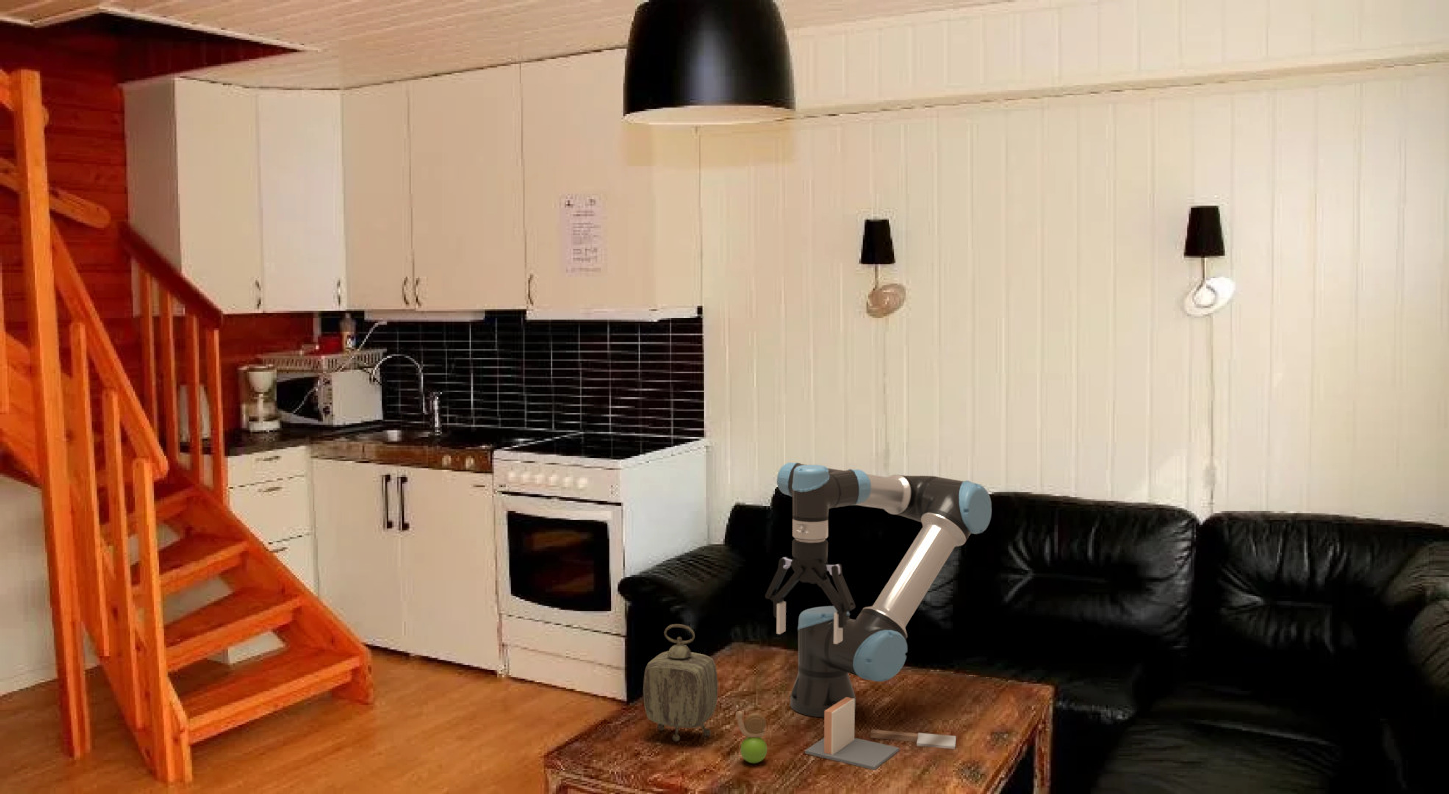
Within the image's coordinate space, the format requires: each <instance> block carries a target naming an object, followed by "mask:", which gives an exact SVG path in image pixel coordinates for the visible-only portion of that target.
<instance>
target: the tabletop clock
mask: <svg viewBox="0 0 1449 794" xmlns="http://www.w3.org/2000/svg"><path fill="white" fill-rule="evenodd" d="M672 628H681V629H685V630H687V631H689V633H691V635H692V638H690V639H688V640H683V637H681V636H677V638H676V639H673V638H671V637H669V636H668V634H667V632H668V631H669V630H670V629H672ZM663 633H664V634H663V635H664V637H665V638H666V639H667V640H668V641H669V642H671V643H673V644H674V645H672V646H671V647H670V648H669V650H667V651H662V652H661V653H659V654H658V655H656V656H655V657H654V658H652V659H651V660H650V661H649V662H648V663H647V665H646V667H645V669H644V674H643V675H644V676H643V687H642V694H643V705H644V711H645V714H646V717H647V719H648V720H650V721H651V722H653V723H655V724H657V728H658V729H657V730H659V731H663V730H665V726H667V727H673V728H674V730H675V733H674V734H673V735H672V741H674V742H675V743H676V742H679V741H680V739H681V736H680V734H679V730H680V729H679V728H684V729H686V728H687V729H693V728H698V727H700V728H701V729H702V730H703V731H702V734H703V735H704V736H705V737H709V736H710V735H711V730H710V729H709V728H706V726H705V725H704V724H705V723H706V722H707V721H708V720H709V718H711V717H712V715H714V712H715V710H716V707H717V702H718V690H719V689H718V688H719V685H718V684H719V683H718V672H717V666H716V663H715V661H714V658H712V657H711V656H708V655H706V654H703V653H702V654H701V653H697V652H692V651H691V649H690V648H689V647H688V646H687V644H690V643H692V642H693V641H694V640H695V637H696V636H695V635H696V634H695V631H694V630H693V629H692V628H691V627H690V626H689V625H685V624H680V623H674V624H669V625H668V626H667V627H666V628H665V630H664V632H663Z"/></svg>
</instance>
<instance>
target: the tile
mask: <svg viewBox="0 0 1449 794" xmlns="http://www.w3.org/2000/svg"><path fill="white" fill-rule="evenodd" d="M855 710H856V708H855V699H854V698H849V697H846V698H844V699H842V700H841V701H839V702H838V703H836V704H835V705H833V706H831V707H830V708H828V709H827V710H825V711H824V717H823V718H824V721H823V722H824V723H823V724H824V727H823V728H824V731H823V738H824V753H826V754H830V755H833V754H835V753H836V752H838V751H839V750H841V749H842V748H843V747H845V746H846V745H848V744H849V743H850V742H852V741H853V740H854V738H855V717H856V716H855V715H856V713H855V712H856V711H855Z"/></svg>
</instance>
